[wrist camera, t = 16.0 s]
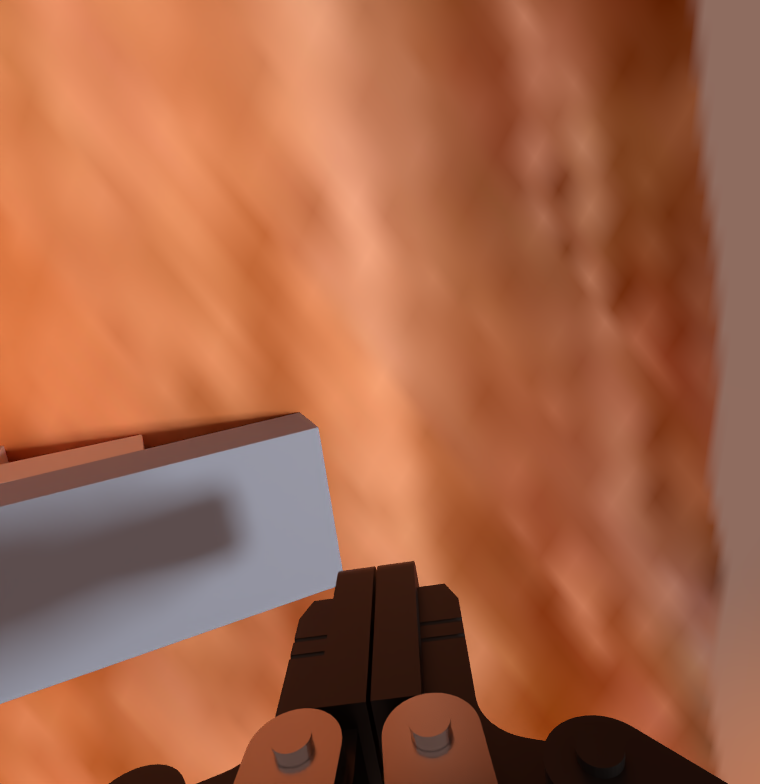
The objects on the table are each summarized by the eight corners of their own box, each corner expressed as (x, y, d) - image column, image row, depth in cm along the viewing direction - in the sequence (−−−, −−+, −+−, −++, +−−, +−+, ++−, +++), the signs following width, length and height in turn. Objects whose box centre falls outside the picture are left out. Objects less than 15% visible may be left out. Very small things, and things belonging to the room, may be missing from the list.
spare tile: (344, 583, 18) (-36, 716, 15) (324, 555, 20) (-18, 668, 17) (318, 427, 17) (-104, 532, 14) (299, 412, 19) (-77, 501, 15)
